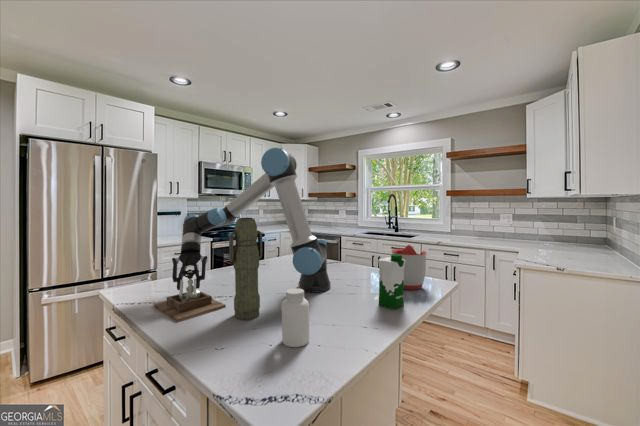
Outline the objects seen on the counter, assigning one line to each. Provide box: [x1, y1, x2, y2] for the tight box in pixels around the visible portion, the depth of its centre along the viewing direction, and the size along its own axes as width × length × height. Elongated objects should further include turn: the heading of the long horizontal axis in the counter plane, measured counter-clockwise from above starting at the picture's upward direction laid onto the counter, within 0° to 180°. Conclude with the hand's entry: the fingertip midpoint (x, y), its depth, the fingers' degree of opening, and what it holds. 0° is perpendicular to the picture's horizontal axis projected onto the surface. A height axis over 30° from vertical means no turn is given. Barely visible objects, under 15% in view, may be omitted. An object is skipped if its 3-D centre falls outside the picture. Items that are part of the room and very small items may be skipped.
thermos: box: [228, 217, 263, 321], centre depth 104 cm, size 9×12×35 cm
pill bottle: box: [281, 287, 310, 348], centre depth 85 cm, size 8×8×15 cm
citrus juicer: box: [391, 244, 427, 291], centre depth 138 cm, size 16×17×20 cm
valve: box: [179, 268, 200, 303], centre depth 113 cm, size 7×7×12 cm
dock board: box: [153, 290, 226, 323], centre depth 113 cm, size 22×18×4 cm
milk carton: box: [377, 253, 406, 310], centre depth 114 cm, size 9×9×20 cm
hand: (187, 296), depth 109 cm, fingers closed on valve, 4 cm apart
